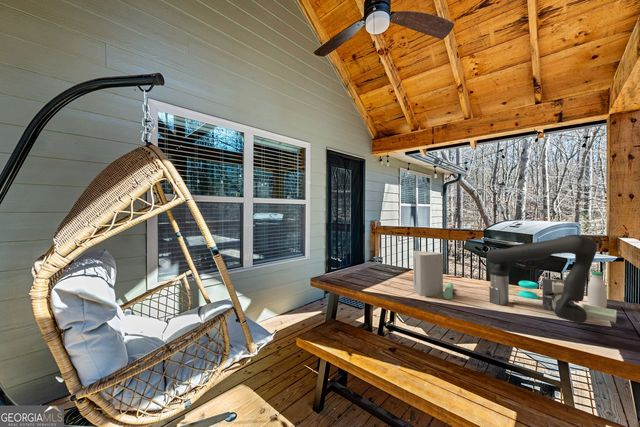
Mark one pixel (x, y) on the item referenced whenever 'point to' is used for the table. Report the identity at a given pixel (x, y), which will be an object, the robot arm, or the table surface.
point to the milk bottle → (597, 290)
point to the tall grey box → (428, 273)
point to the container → (448, 291)
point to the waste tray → (600, 312)
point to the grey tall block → (557, 289)
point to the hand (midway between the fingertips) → (558, 293)
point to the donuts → (528, 286)
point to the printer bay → (546, 288)
